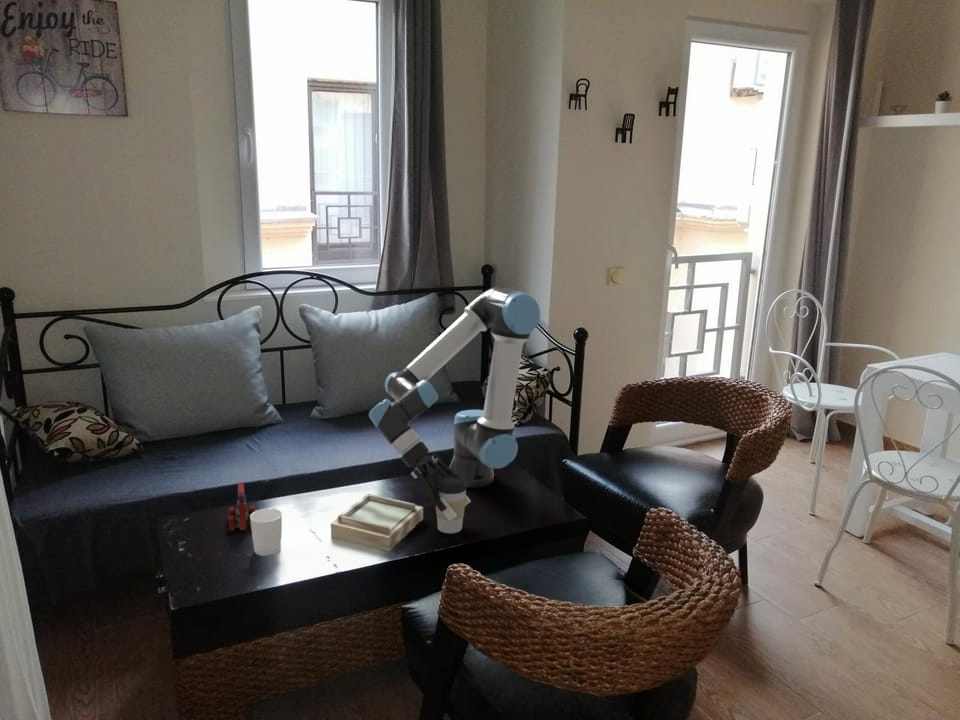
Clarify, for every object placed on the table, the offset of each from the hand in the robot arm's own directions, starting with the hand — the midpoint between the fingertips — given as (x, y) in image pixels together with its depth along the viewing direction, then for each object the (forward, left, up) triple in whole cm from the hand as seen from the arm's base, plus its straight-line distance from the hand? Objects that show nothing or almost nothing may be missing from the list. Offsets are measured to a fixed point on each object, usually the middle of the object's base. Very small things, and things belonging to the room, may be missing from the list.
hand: (460, 511), depth 202 cm
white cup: (+32, -41, -6) cm, 52 cm away
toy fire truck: (+24, -56, -6) cm, 61 cm away
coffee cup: (0, -3, -6) cm, 7 cm away
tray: (+9, -21, -6) cm, 24 cm away
